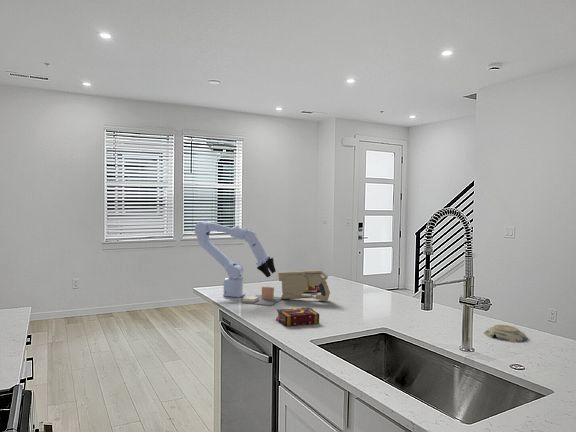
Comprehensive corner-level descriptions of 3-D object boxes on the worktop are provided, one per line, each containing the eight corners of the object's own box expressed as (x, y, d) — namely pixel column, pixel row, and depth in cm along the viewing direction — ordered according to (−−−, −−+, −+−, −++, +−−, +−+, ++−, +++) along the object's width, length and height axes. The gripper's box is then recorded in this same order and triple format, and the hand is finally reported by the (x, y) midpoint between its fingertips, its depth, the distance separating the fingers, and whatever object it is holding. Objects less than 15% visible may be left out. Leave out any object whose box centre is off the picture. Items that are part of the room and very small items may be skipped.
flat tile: (253, 302, 215) (253, 299, 215) (242, 301, 217) (242, 298, 217) (258, 300, 220) (258, 296, 220) (247, 298, 222) (247, 295, 222)
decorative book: (319, 324, 182) (320, 312, 181) (282, 327, 176) (282, 315, 176) (309, 317, 192) (309, 305, 192) (273, 320, 187) (273, 308, 187)
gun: (330, 300, 224) (328, 269, 223) (330, 301, 221) (328, 270, 220) (280, 301, 226) (279, 271, 226) (279, 303, 223) (278, 272, 223)
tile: (261, 298, 224) (261, 286, 224) (262, 297, 225) (263, 286, 225) (272, 299, 222) (272, 287, 222) (273, 299, 223) (274, 287, 223)
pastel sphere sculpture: (325, 294, 240) (326, 277, 240) (282, 293, 240) (282, 276, 240) (322, 285, 265) (323, 270, 265) (283, 284, 265) (283, 269, 265)
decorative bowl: (531, 336, 170) (490, 328, 180) (532, 327, 170) (490, 319, 180) (522, 346, 159) (479, 337, 168) (523, 336, 159) (479, 327, 168)
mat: (242, 303, 215) (242, 302, 215) (257, 295, 232) (257, 294, 232) (270, 306, 210) (270, 305, 210) (284, 298, 227) (284, 297, 227)
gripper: (259, 251, 222) (273, 275, 222) (269, 245, 235) (282, 267, 235) (248, 257, 224) (261, 281, 224) (259, 250, 238) (271, 273, 238)
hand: (271, 274), depth 230 cm, fingers open, 7 cm apart
